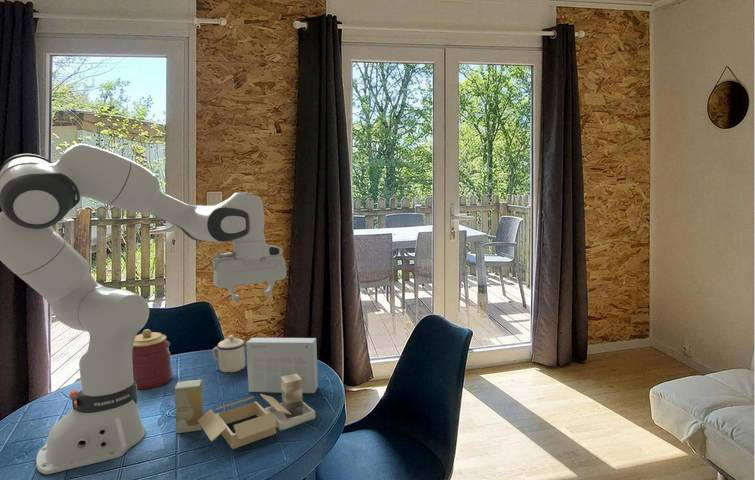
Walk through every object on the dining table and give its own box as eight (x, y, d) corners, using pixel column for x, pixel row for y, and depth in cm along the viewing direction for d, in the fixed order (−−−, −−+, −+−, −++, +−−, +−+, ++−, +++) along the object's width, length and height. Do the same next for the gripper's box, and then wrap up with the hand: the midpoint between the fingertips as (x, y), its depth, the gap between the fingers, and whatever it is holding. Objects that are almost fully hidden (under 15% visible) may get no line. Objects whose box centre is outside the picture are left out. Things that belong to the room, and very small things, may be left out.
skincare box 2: (318, 386, 140) (317, 337, 138) (314, 394, 134) (312, 343, 133) (254, 384, 142) (251, 336, 140) (247, 392, 137) (245, 342, 135)
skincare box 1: (176, 434, 113) (172, 388, 112) (179, 425, 117) (175, 381, 116) (203, 430, 115) (200, 385, 114) (204, 421, 119) (202, 378, 118)
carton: (216, 462, 101) (214, 439, 101) (194, 427, 116) (193, 407, 116) (297, 431, 113) (296, 411, 113) (268, 404, 128) (267, 386, 128)
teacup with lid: (250, 363, 159) (249, 332, 158) (237, 374, 150) (235, 340, 149) (220, 361, 162) (218, 330, 160) (205, 371, 153) (203, 339, 151)
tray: (280, 430, 114) (279, 423, 114) (264, 415, 122) (264, 408, 122) (315, 418, 120) (315, 411, 120) (298, 404, 128) (298, 397, 128)
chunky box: (287, 418, 119) (285, 383, 118) (282, 411, 123) (280, 376, 122) (303, 414, 121) (301, 379, 120) (298, 407, 125) (296, 373, 124)
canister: (155, 391, 138) (150, 336, 136) (118, 389, 140) (113, 335, 138) (180, 374, 151) (177, 324, 149) (146, 372, 153) (142, 322, 151)
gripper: (215, 255, 115) (218, 307, 117) (287, 248, 127) (289, 295, 129) (208, 253, 120) (211, 302, 122) (278, 246, 132) (280, 291, 134)
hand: (252, 298), depth 126 cm, fingers open, 8 cm apart
